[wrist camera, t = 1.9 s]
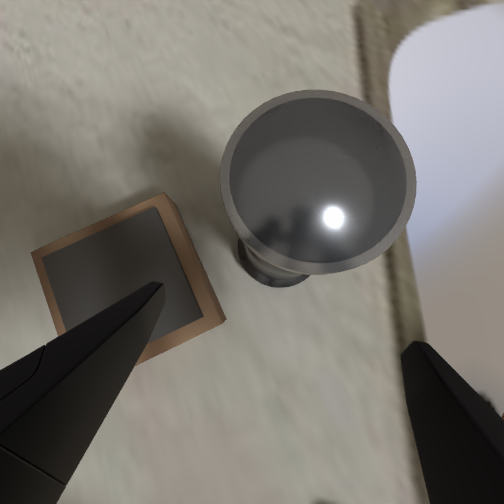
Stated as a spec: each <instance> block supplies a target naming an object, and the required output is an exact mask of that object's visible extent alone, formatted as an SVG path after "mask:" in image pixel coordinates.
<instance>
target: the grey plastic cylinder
mask: <svg viewBox="0 0 504 504" xmlns="http://www.w3.org/2000/svg"><path fill="white" fill-rule="evenodd" d="M220 186H221V194H222V198H223V202H224V206H225V209H226V211H227V214H228V217H229V219H230V222H231V224H232V226H233V228H234V229H235V231H236V233H237V234H238V236H239V240H238V252H239V256H240V260H241V262H242V264H243V266H244V268H245V270H246V271H247V272H248V274H249V275H250V276H251V277H252V278H254V279H255V280H256V281H258V282H260V283H262V284H264V285H267V286H270V287H279V288H282V287H289V286H293V285H296V284H298V283H300V282H302V281H304V280H305V279H306V278H308V277H309V276H310V275H324V274H332V273H337V272H342V271H346V270H349V269H353V268H356V267H358V266H361V265H363V264H366V263H368V262H369V261H371V260H373V259H375V258H376V257H378V256H379V255H380V254H382V253H383V252H384V251H386V250H387V249H388V248H389V247H390V246H391V245H392V244H393V243H394V242H395V241H396V240H397V238H398V237H399V236H400V234H401V233H402V231H403V230H404V228H405V226H406V224H407V223H408V221H409V218H410V216H411V213H412V210H413V207H414V202H415V197H416V172H415V167H414V163H413V159H412V156H411V153H410V151H409V148H408V146H407V145H406V143H405V141H404V139H403V137H402V136H401V134H400V133H399V132H398V130H397V129H396V127H395V126H394V125H393V124H392V123H391V122H390V121H389V120H388V119H387V118H386V117H385V116H384V115H383V114H381V113H380V112H379V111H378V110H376V109H375V108H373V107H372V106H370V105H369V104H367V103H365V102H363V101H361V100H359V99H357V98H355V97H352V96H349V95H346V94H343V93H338V92H334V91H327V90H303V91H295V92H291V93H287V94H284V95H281V96H278V97H275V98H273V99H271V100H269V101H267V102H265V103H263V104H262V105H260V106H259V107H258V108H256V109H255V110H253V111H252V112H251V113H250V114H249V115H248V116H246V117H245V118H244V120H243V121H242V122H241V123H240V124H239V125H238V126H237V128H236V129H235V131H234V132H233V134H232V136H231V137H230V139H229V141H228V144H227V146H226V148H225V151H224V154H223V157H222V163H221V169H220Z"/></svg>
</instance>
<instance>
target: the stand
mask: <svg viewBox="0 0 504 504" xmlns="http://www.w3.org/2000/svg"><path fill="white" fill-rule="evenodd" d="M31 255H32V258H33V261H34V264H35V267H36V270H37V273H38V276H39V279H40V282H41V285H42V288H43V291H44V294H45V297H46V300H47V303H48V306H49V309H50V313H51V316H52V319H53V322H54V325H55V328H56V331H57V334H58V336H60V335H62V334H63V333H65V332H67V331H69V330H70V329H72V328H74V327H75V326H77V325H79V324H80V323H82V322H84V321H85V320H87V319H89V318H90V317H92V316H94V315H96V314H97V313H99V312H101V311H102V310H104V309H106V308H107V307H109V306H111V305H112V304H114V303H116V302H117V301H119V300H121V299H122V298H124V297H126V296H128V295H129V294H131V293H133V292H134V291H136V290H138V289H139V288H141V287H143V286H144V285H146V284H148V283H149V282H151V281H157V282H162V283H164V285H165V293H166V302H165V305H164V307H163V309H162V312H161V314H160V316H159V319H158V321H157V323H156V326H155V328H154V330H153V332H152V335H151V337H150V339H149V341H148V343H147V345H146V347H145V349H144V351H143V352H142V354H141V356H140V358H139V359H138V361H137V363H136V365H138V364H140V363H142V362H144V361H146V360H149V359H151V358H153V357H155V356H157V355H159V354H161V353H163V352H165V351H167V350H169V349H171V348H173V347H175V346H177V345H179V344H181V343H183V342H185V341H187V340H189V339H192V338H194V337H196V336H198V335H200V334H202V333H204V332H206V331H208V330H210V329H212V328H214V327H216V326H218V325H220V324H222V323H223V322H224V321H225V320H226V317H225V315H224V312H223V310H222V308H221V306H220V303H219V301H218V299H217V297H216V294H215V292H214V290H213V288H212V285H211V283H210V281H209V279H208V276H207V274H206V272H205V270H204V267H203V265H202V263H201V261H200V259H199V256H198V254H197V252H196V250H195V247H194V245H193V243H192V241H191V238H190V236H189V234H188V232H187V229H186V227H185V225H184V223H183V220H182V218H181V216H180V214H179V211H178V209H177V207H176V205H175V203H174V202H173V201H172V200H171V199H170V198H169V197H168V196H167V194H166V193H165V192H164V193H162V194H159V195H157V196H155V197H153V198H150V199H148V200H146V201H144V202H142V203H139V204H137V205H135V206H133V207H130V208H128V209H126V210H124V211H121V212H119V213H117V214H115V215H113V216H110V217H108V218H106V219H104V220H101V221H99V222H97V223H95V224H93V225H90V226H88V227H86V228H84V229H81V230H79V231H77V232H75V233H72V234H70V235H68V236H66V237H64V238H61V239H59V240H57V241H55V242H52V243H50V244H48V245H46V246H44V247H41V248H39V249H37V250H35V251H32V252H31ZM136 365H135V366H136Z"/></svg>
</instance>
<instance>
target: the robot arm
mask: <svg viewBox="0 0 504 504" xmlns="http://www.w3.org/2000/svg"><path fill="white" fill-rule="evenodd" d="M165 302H166V293H165V285H164V283H162V282H157V281H151V282H149V283H148V284H146V285H144V286H143V287H141V288H139V289H138V290H136V291H134V292H133V293H131V294H129V295H128V296H126V297H124V298H122V299H121V300H119V301H117V302H116V303H114V304H112V305H111V306H109V307H107V308H106V309H104V310H102V311H101V312H99V313H97V314H96V315H94V316H92V317H90V318H89V319H87V320H85V321H84V322H82V323H80V324H79V325H77V326H75V327H74V328H72V329H70V330H69V331H67V332H65V333H63V334H62V335H60V336H58V337H57V338H55V339H53V340H52V341H50V342H48V343H47V344H46V346H45V345H43V346H41V347H40V348H38V349H36V350H35V351H33V352H31V353H30V354H28V355H26V356H24V357H23V358H21V359H19V360H17V361H16V362H14V363H12V364H10V365H9V366H7V367H5V368H3V369H1V370H0V504H56V503H57V501H58V500H59V498H60V496H61V494H62V493H63V491H64V489H65V487H66V486H65V485H67V484H68V482H69V480H70V478H71V477H72V475H73V473H74V471H75V470H76V468H77V466H78V464H79V463H80V461H81V459H82V457H83V456H84V454H85V452H86V450H87V449H88V447H89V445H90V443H91V442H92V440H93V438H94V436H95V435H96V433H97V431H98V429H99V428H100V426H101V424H102V422H103V421H104V419H105V417H106V415H107V414H108V412H109V410H110V408H111V407H112V405H113V403H114V401H115V400H116V398H117V396H118V394H119V393H120V391H121V389H122V387H123V386H124V384H125V382H126V380H127V379H128V377H129V375H130V373H131V372H132V370H133V368H134V366H135V365H136V363H137V361H138V359H139V358H140V356H141V354H142V352H143V351H144V349H145V347H146V345H147V343H148V341H149V339H150V337H151V335H152V332H153V330H154V328H155V326H156V323H157V321H158V319H159V316H160V314H161V312H162V309H163V307H164V305H165ZM401 367H402V374H403V382H404V390H405V397H406V403H407V408H408V413H409V417H410V421H411V425H412V430H413V434H414V438H415V442H416V447H417V451H418V455H419V459H420V464H421V468H422V472H423V476H424V480H425V485H426V489H427V493H428V497H429V502H430V504H504V420H503V419H502V418H501V417H500V416H499V415H498V414H497V413H496V412H495V411H494V410H493V409H492V408H491V407H490V406H489V405H488V404H487V403H486V402H485V401H484V399H483V398H482V397H481V396H480V395H479V394H478V393H477V392H476V391H475V390H474V389H473V388H472V387H471V386H470V385H469V384H468V383H467V382H466V381H465V380H464V379H463V378H462V377H461V376H460V375H459V374H458V373H457V372H456V371H455V370H454V369H453V368H452V367H451V366H450V365H449V364H448V363H447V362H446V361H445V360H444V359H443V358H442V357H441V356H440V355H439V354H438V353H437V352H436V351H435V350H434V349H433V348H432V347H431V346H430V345H429V344H428V343H425V342H421V341H413V342H411V343H410V344H409V346H408V347H407V348H406V349H405V350H404V351H403V352H402V354H401Z"/></svg>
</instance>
